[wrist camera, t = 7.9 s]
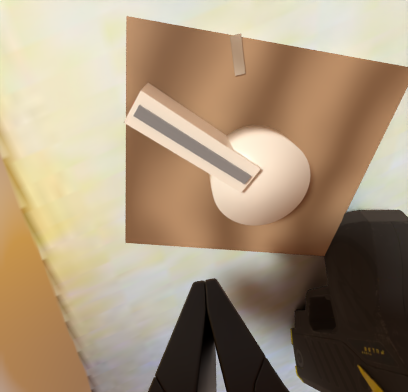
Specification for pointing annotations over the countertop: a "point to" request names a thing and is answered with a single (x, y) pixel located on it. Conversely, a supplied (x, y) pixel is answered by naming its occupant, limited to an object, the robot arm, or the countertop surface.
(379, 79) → the panel
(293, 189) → the cream elongated piece
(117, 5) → the countertop surface
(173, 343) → the robot arm
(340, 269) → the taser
